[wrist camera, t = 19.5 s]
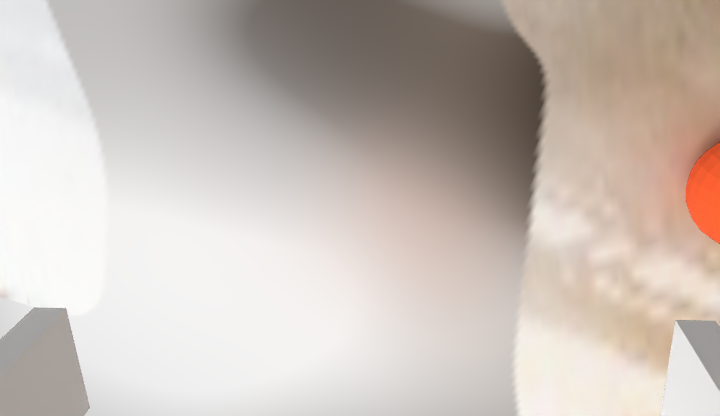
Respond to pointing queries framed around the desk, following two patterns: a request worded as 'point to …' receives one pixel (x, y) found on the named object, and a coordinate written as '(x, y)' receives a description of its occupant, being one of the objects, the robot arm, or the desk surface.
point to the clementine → (705, 193)
